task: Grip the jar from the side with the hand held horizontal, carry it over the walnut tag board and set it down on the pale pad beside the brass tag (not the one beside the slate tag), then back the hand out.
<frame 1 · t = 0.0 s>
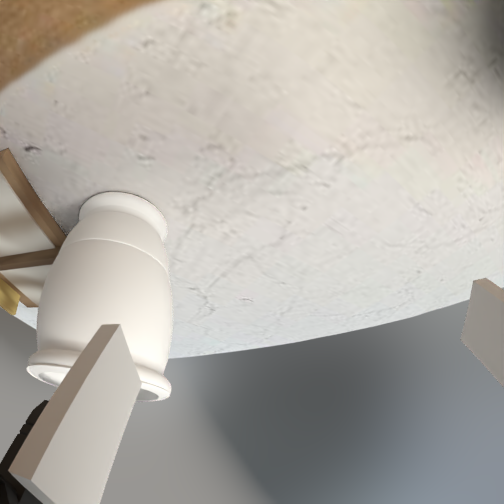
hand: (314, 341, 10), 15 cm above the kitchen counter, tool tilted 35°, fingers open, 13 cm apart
jar: (123, 221, 27), on the kitchen counter
tag board: (17, 247, 27), on the kitchen counter
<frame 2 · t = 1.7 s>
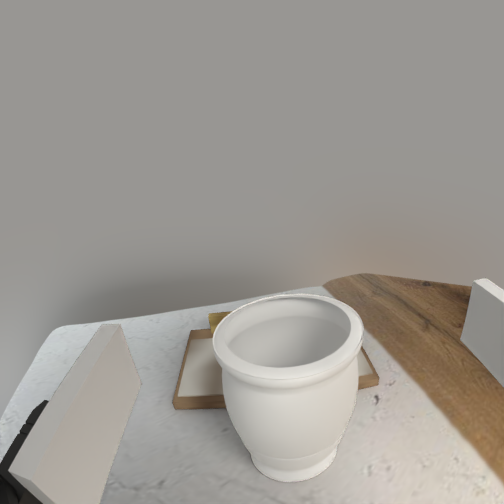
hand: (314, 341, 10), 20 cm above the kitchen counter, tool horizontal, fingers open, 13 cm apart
jar: (294, 450, 25), on the kitchen counter
tag board: (272, 361, 40), on the kitchen counter
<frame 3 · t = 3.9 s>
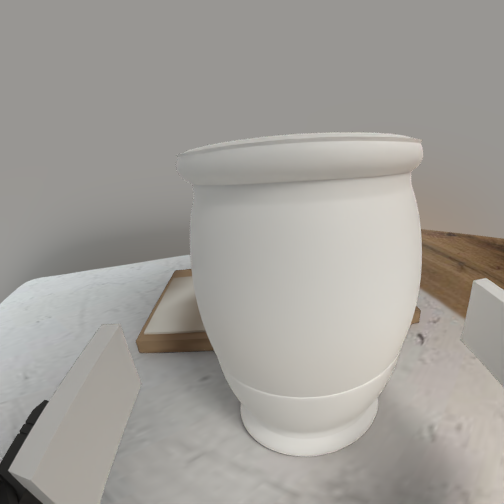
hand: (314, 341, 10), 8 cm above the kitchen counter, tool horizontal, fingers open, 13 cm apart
jar: (310, 407, 17), on the kitchen counter
tag board: (275, 299, 31), on the kitchen counter
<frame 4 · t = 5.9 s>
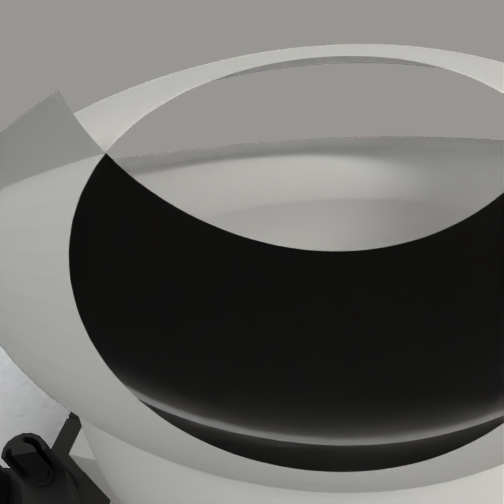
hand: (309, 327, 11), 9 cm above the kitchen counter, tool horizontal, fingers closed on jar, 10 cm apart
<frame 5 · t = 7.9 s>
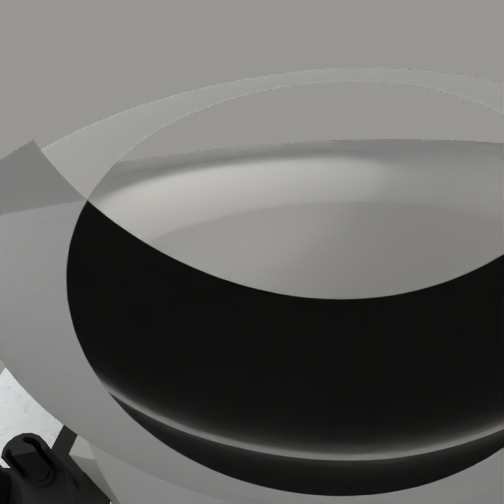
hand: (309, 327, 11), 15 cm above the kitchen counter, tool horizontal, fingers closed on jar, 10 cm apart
when the fingers open (11 cm above the kitchen counter, at t = 10.2 s): jar stays where it is, resting on tag board.
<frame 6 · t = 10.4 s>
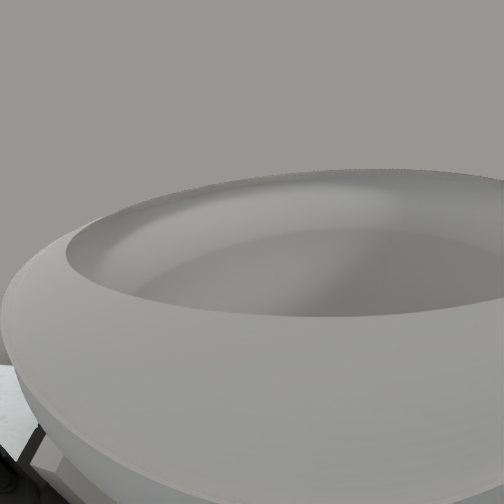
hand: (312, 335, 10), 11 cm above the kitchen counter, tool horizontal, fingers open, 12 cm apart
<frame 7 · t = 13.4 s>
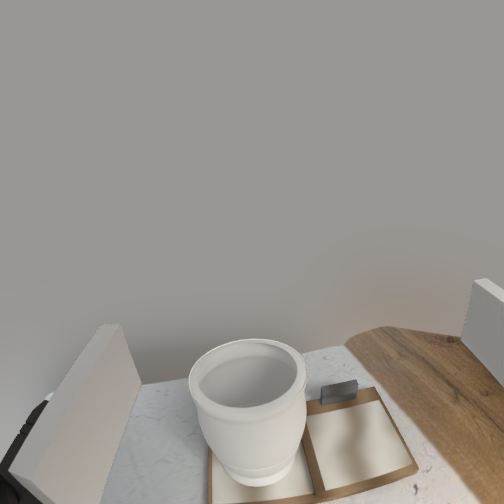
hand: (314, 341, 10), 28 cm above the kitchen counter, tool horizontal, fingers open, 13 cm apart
jar: (259, 460, 30), point 1 cm above the kitchen counter, touching tag board
tag board: (306, 451, 32), on the kitchen counter
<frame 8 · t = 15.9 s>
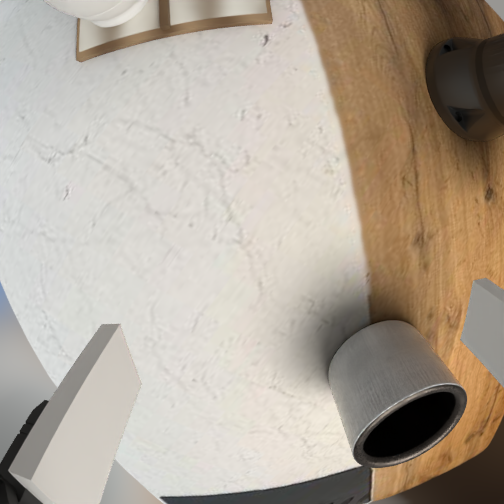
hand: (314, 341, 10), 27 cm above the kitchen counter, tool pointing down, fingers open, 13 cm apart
planter: (375, 359, 43), on the kitchen counter
jar: (120, 1, 25), point 1 cm above the kitchen counter, touching tag board
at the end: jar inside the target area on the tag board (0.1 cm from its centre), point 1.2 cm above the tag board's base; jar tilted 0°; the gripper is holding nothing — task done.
